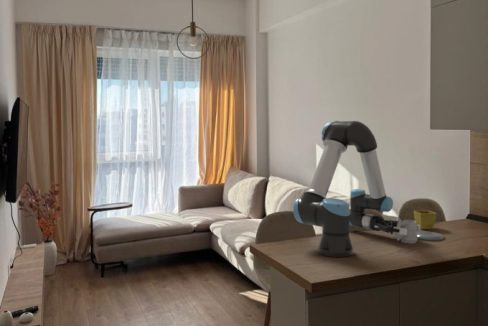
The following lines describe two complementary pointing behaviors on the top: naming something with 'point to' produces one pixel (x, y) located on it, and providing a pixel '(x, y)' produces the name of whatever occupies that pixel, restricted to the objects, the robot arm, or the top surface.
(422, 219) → the flower pot
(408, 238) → the mug
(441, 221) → the top surface
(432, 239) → the trivet
